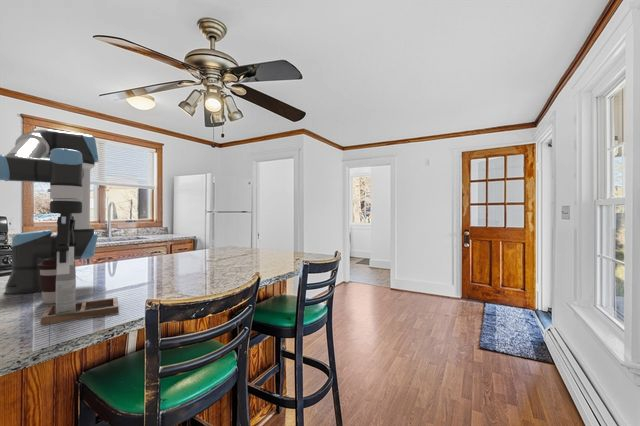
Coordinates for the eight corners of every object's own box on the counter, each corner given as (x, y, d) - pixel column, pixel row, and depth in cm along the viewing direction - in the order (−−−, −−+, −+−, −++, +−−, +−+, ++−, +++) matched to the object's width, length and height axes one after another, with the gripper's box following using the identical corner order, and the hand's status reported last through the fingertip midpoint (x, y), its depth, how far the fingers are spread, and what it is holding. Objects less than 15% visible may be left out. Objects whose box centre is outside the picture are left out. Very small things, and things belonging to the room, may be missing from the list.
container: (59, 313, 93) (60, 265, 93) (78, 312, 95) (78, 264, 94) (52, 318, 89) (52, 268, 88) (71, 317, 90) (72, 267, 90)
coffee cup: (52, 306, 100) (52, 261, 99) (29, 304, 102) (29, 260, 101) (81, 298, 109) (82, 256, 109) (60, 296, 111) (60, 255, 111)
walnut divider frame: (47, 312, 94) (48, 306, 94) (117, 303, 104) (117, 297, 104) (40, 324, 84) (40, 317, 84) (118, 313, 94) (118, 306, 94)
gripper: (56, 201, 99) (55, 265, 99) (42, 198, 79) (41, 279, 79) (84, 202, 104) (84, 263, 104) (78, 199, 83) (78, 275, 83)
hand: (65, 270), depth 91 cm, fingers open, 13 cm apart
